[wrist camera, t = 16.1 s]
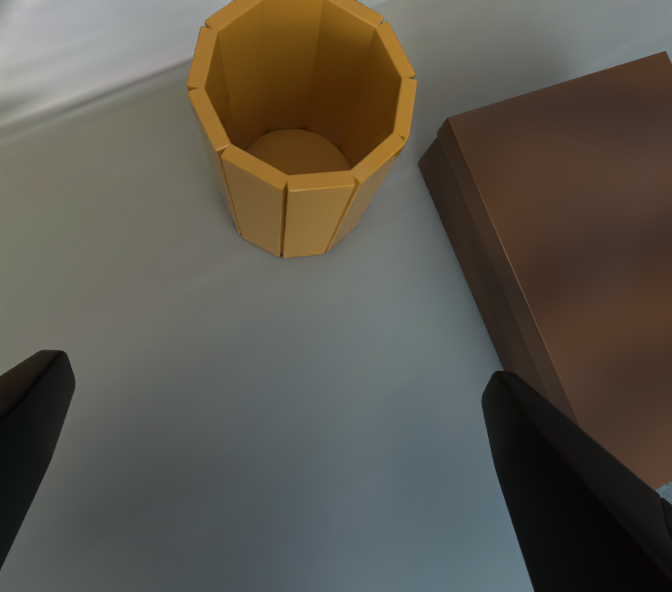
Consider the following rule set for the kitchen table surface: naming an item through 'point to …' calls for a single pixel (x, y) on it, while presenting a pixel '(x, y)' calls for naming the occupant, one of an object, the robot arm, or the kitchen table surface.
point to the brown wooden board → (574, 247)
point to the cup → (300, 116)
